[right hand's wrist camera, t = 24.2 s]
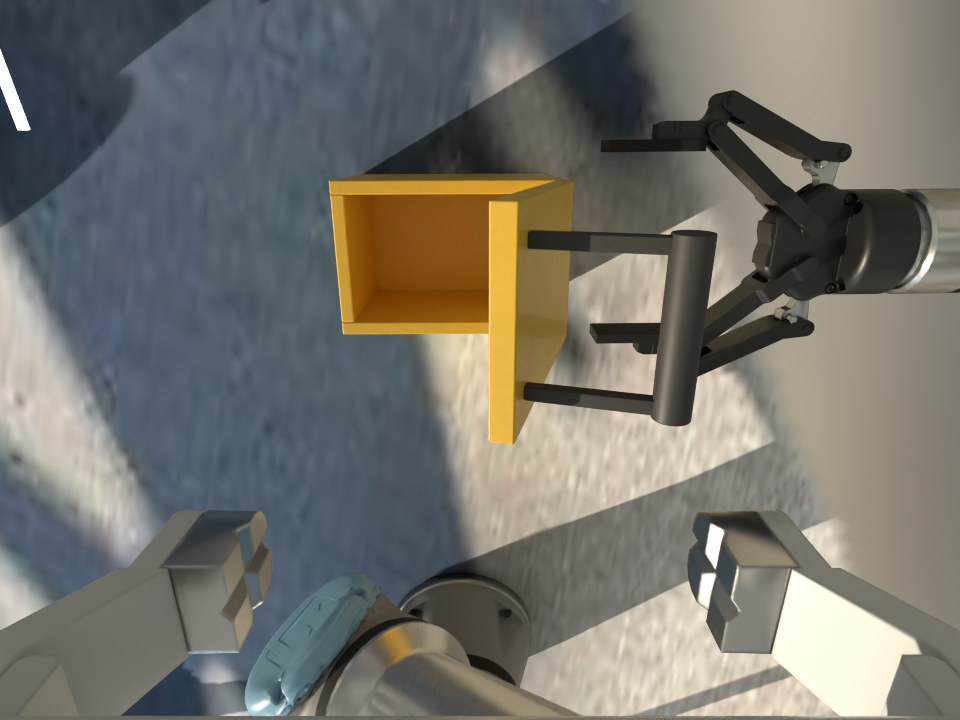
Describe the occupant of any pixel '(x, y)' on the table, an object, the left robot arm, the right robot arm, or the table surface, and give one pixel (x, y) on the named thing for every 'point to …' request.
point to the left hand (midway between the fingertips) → (598, 245)
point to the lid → (544, 305)
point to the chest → (417, 250)
